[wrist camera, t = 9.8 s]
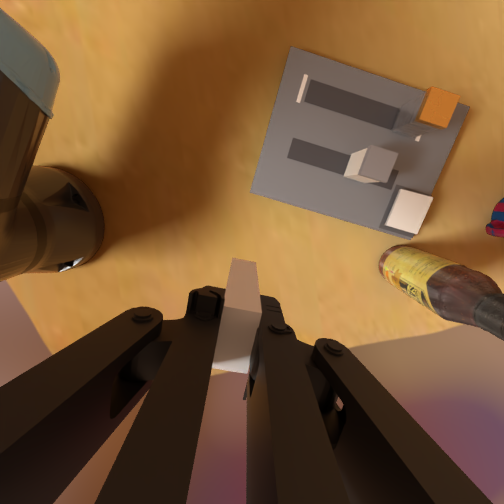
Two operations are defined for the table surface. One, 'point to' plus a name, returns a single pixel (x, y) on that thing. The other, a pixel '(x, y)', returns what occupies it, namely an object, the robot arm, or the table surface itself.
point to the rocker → (408, 211)
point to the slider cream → (371, 165)
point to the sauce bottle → (446, 288)
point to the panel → (345, 142)
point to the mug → (497, 221)
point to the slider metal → (426, 113)
